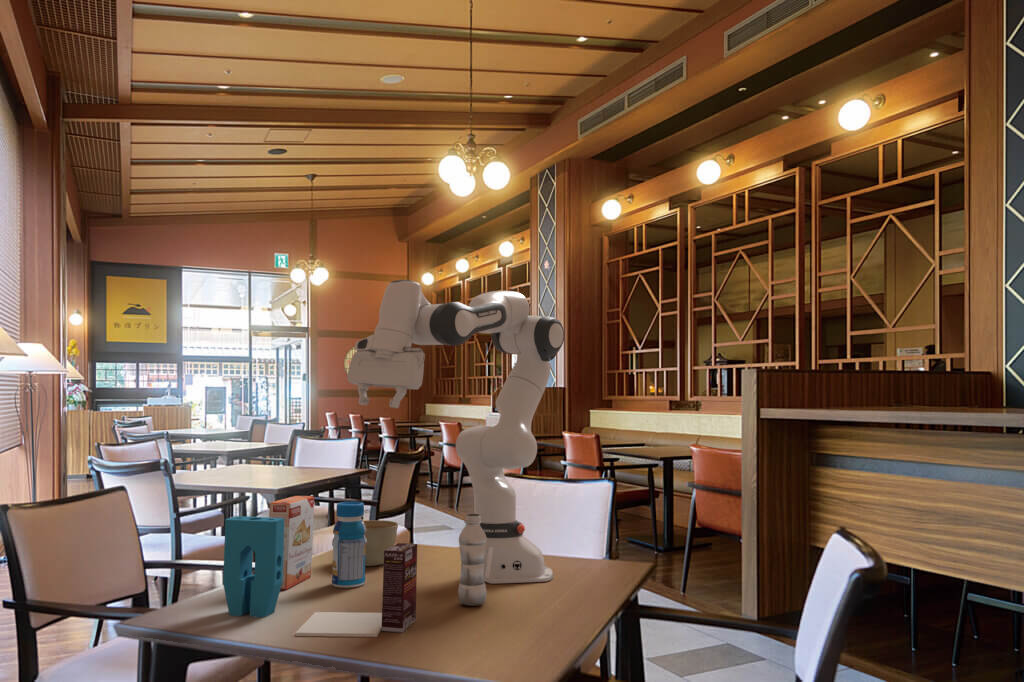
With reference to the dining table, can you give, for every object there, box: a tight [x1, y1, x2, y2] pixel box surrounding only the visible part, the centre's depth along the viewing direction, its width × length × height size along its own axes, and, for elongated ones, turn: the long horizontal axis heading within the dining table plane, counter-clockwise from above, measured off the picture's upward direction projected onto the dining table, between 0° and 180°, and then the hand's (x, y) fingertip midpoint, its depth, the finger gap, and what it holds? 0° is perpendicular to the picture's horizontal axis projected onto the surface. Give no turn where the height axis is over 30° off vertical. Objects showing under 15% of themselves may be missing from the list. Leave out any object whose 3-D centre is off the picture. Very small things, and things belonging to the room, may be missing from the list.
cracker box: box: [268, 495, 315, 591], centre depth 185 cm, size 14×6×21 cm, turn 170°
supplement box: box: [380, 542, 418, 633], centre depth 150 cm, size 9×5×16 cm, turn 170°
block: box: [222, 515, 284, 618], centre depth 159 cm, size 12×5×20 cm, turn 79°
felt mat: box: [294, 611, 382, 638], centre depth 150 cm, size 16×14×1 cm
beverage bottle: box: [331, 501, 367, 589], centre depth 184 cm, size 8×8×20 cm
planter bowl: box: [363, 519, 399, 567], centre depth 207 cm, size 16×16×11 cm
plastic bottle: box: [457, 513, 488, 607], centre depth 166 cm, size 6×7×20 cm
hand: (377, 406), depth 164 cm, fingers open, 8 cm apart
